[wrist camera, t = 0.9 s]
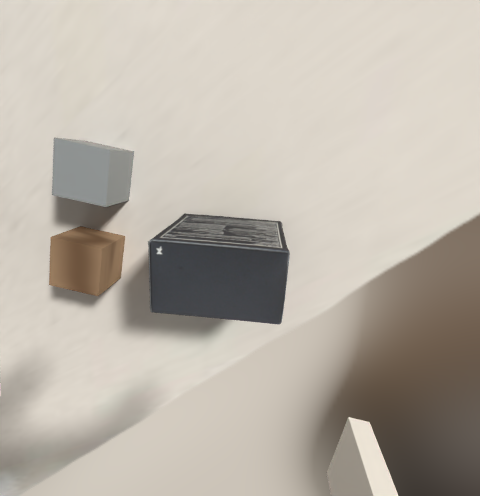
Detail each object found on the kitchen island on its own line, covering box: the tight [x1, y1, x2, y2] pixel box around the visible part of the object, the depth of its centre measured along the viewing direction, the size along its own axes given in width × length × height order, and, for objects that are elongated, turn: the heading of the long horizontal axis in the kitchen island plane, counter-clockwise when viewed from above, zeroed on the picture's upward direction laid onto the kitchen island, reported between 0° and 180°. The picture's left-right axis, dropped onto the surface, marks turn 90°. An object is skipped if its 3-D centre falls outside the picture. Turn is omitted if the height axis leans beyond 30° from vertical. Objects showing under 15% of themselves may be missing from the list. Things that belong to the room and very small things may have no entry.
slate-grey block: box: [52, 138, 134, 207], centre depth 29 cm, size 5×5×5 cm
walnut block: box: [49, 226, 125, 296], centre depth 32 cm, size 5×5×5 cm
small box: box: [148, 214, 289, 324], centre depth 28 cm, size 11×6×10 cm, turn 86°
